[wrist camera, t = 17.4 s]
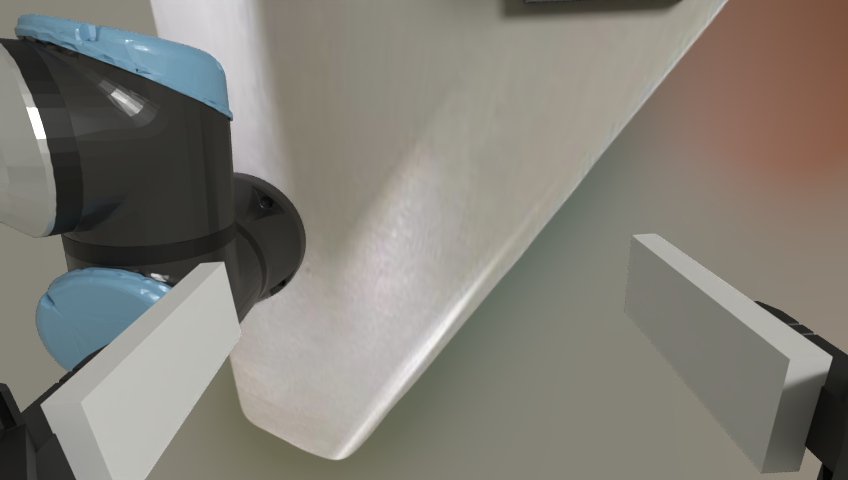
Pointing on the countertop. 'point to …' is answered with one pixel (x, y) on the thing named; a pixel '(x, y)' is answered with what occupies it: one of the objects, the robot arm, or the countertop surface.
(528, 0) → the tray
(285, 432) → the countertop surface
